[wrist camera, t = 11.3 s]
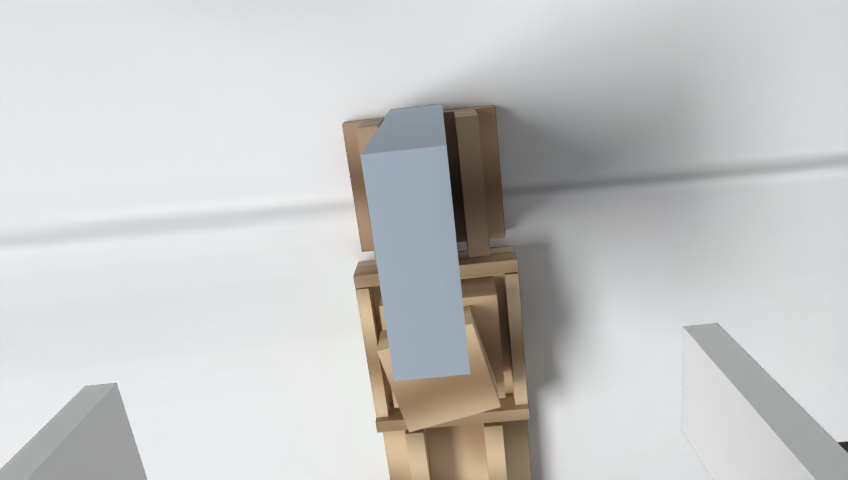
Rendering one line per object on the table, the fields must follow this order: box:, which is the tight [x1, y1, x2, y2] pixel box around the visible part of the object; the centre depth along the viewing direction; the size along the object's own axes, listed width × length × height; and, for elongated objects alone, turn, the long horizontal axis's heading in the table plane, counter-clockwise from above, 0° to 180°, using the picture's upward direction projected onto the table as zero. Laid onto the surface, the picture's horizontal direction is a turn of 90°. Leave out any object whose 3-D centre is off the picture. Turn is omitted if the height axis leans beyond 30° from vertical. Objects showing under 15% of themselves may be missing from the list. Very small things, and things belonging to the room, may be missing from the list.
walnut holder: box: [342, 105, 505, 267], centre depth 36 cm, size 8×9×4 cm
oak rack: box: [354, 246, 531, 480], centre depth 39 cm, size 23×10×7 cm, turn 7°
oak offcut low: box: [379, 276, 506, 408], centre depth 38 cm, size 7×7×3 cm
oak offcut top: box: [377, 305, 501, 432], centre depth 36 cm, size 6×6×2 cm
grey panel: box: [361, 104, 470, 381], centre depth 29 cm, size 9×3×15 cm, turn 7°
